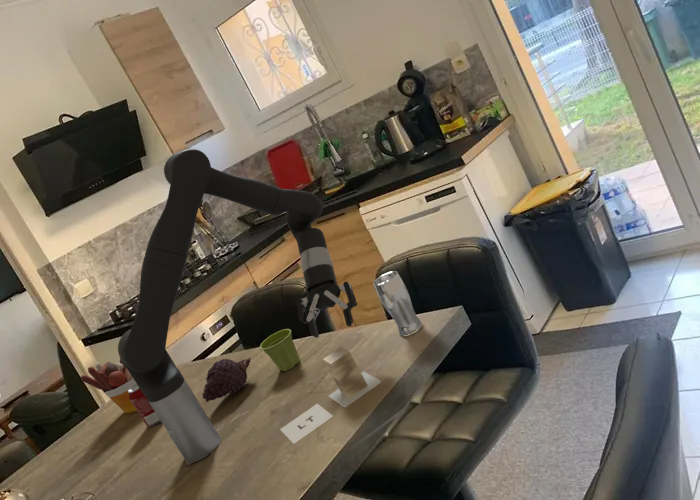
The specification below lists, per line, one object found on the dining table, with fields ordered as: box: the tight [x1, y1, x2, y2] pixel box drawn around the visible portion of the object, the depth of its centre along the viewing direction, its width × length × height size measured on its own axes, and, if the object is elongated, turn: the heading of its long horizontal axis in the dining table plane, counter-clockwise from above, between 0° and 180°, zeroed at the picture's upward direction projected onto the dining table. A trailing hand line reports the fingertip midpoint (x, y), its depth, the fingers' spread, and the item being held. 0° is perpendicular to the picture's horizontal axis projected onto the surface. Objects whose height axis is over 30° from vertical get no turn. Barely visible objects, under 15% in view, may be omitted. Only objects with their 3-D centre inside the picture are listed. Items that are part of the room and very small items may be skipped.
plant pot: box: [259, 328, 301, 372], centre depth 179 cm, size 9×9×9 cm
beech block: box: [322, 346, 368, 398], centre depth 147 cm, size 5×5×9 cm
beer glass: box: [372, 270, 423, 337], centre depth 162 cm, size 7×7×15 cm
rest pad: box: [328, 371, 382, 408], centre depth 148 cm, size 10×10×1 cm
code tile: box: [279, 403, 334, 445], centre depth 143 cm, size 10×10×1 cm
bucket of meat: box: [80, 357, 138, 414], centre depth 208 cm, size 20×16×20 cm
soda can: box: [128, 384, 162, 427], centre depth 188 cm, size 7×7×12 cm
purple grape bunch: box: [202, 357, 251, 403], centre depth 180 cm, size 18×10×10 cm, turn 140°
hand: (332, 331), depth 157 cm, fingers open, 8 cm apart
